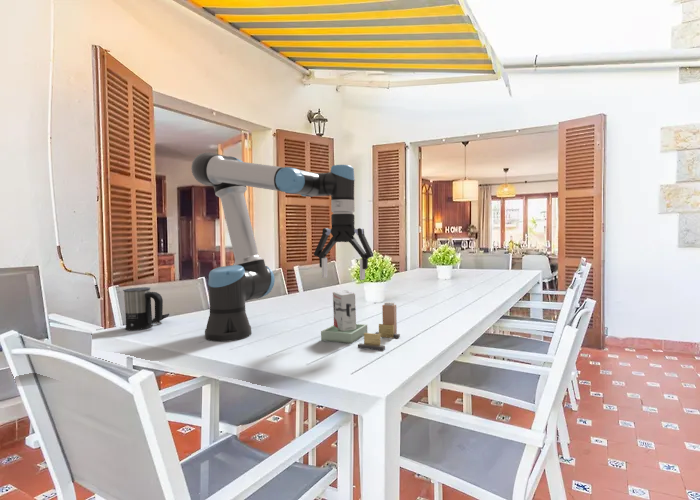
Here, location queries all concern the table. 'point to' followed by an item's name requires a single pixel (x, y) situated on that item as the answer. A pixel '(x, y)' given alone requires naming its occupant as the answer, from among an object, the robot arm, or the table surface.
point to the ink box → (344, 310)
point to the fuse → (390, 315)
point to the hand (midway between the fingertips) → (343, 278)
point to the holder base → (375, 347)
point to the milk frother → (142, 308)
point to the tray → (343, 334)
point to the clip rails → (384, 331)
